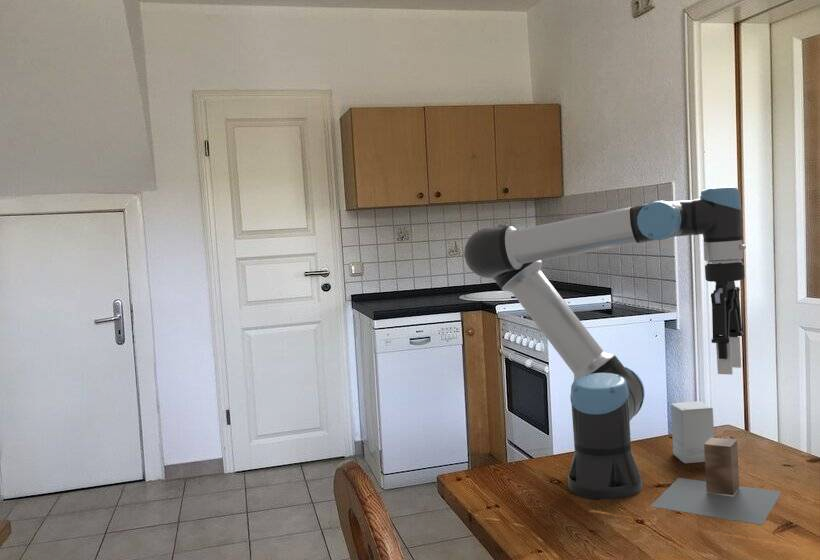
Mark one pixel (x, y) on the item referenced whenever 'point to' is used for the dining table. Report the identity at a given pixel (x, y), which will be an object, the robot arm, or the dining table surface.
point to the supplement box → (691, 430)
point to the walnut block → (721, 466)
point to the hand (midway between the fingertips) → (729, 370)
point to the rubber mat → (718, 501)
